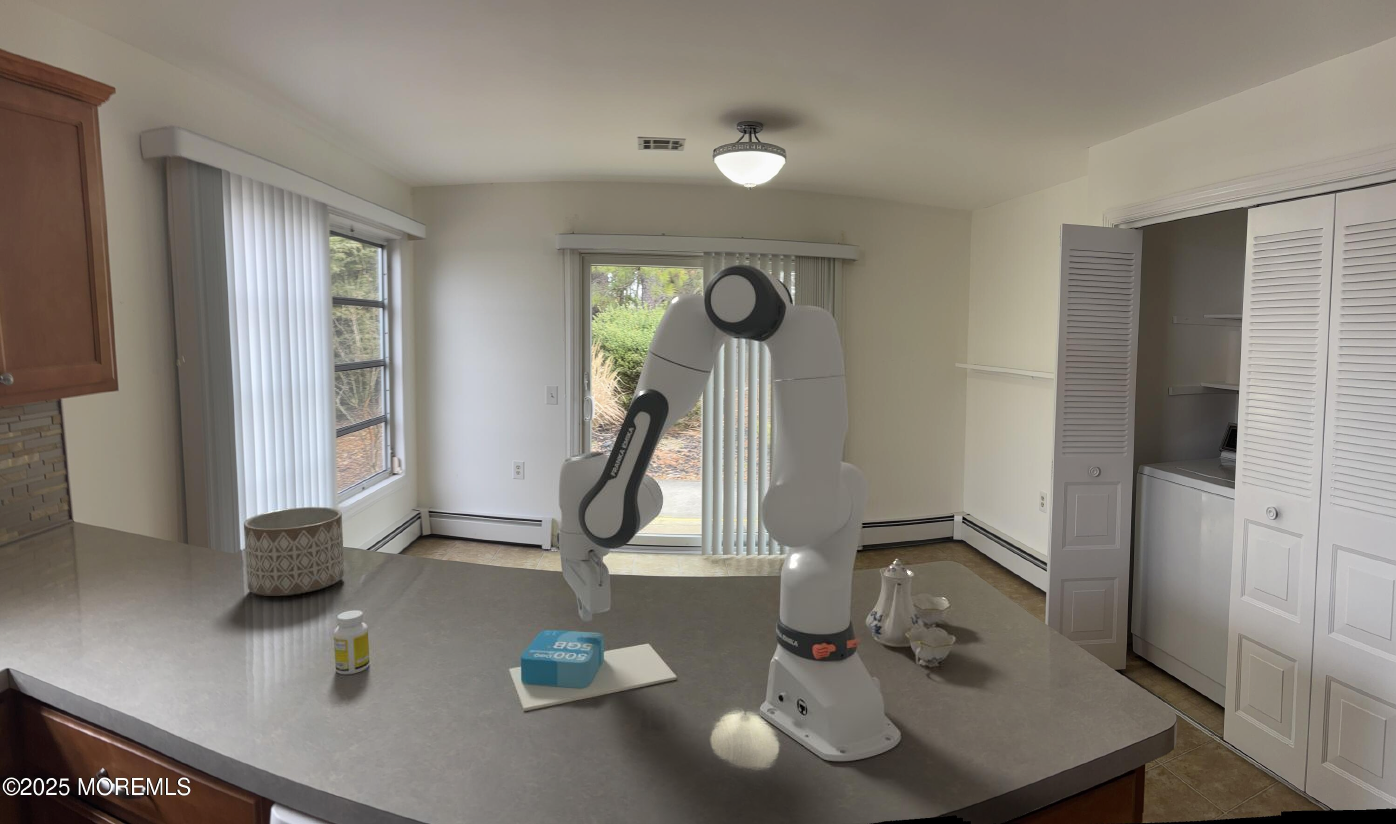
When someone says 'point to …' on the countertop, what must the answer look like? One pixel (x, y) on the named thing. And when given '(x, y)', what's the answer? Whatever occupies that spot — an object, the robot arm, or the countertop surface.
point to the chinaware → (909, 617)
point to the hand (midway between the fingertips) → (585, 618)
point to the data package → (562, 659)
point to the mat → (600, 678)
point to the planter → (294, 550)
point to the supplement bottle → (351, 643)
